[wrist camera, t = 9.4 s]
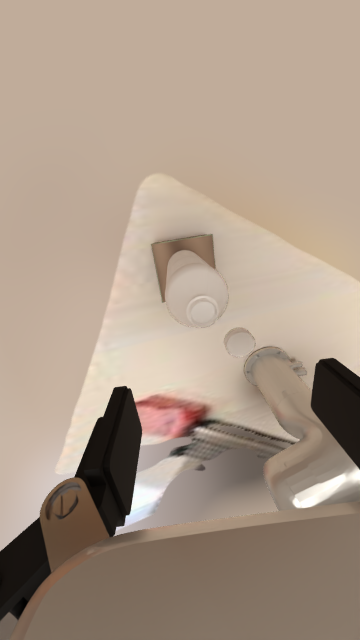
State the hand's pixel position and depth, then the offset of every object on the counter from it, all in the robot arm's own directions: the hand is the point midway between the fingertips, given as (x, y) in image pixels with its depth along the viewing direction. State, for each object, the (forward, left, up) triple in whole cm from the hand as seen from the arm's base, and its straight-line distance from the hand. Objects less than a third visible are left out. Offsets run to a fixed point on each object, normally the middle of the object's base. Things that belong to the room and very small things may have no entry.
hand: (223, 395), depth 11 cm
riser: (0, -1, -40) cm, 40 cm away
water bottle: (-1, -1, -32) cm, 32 cm away
